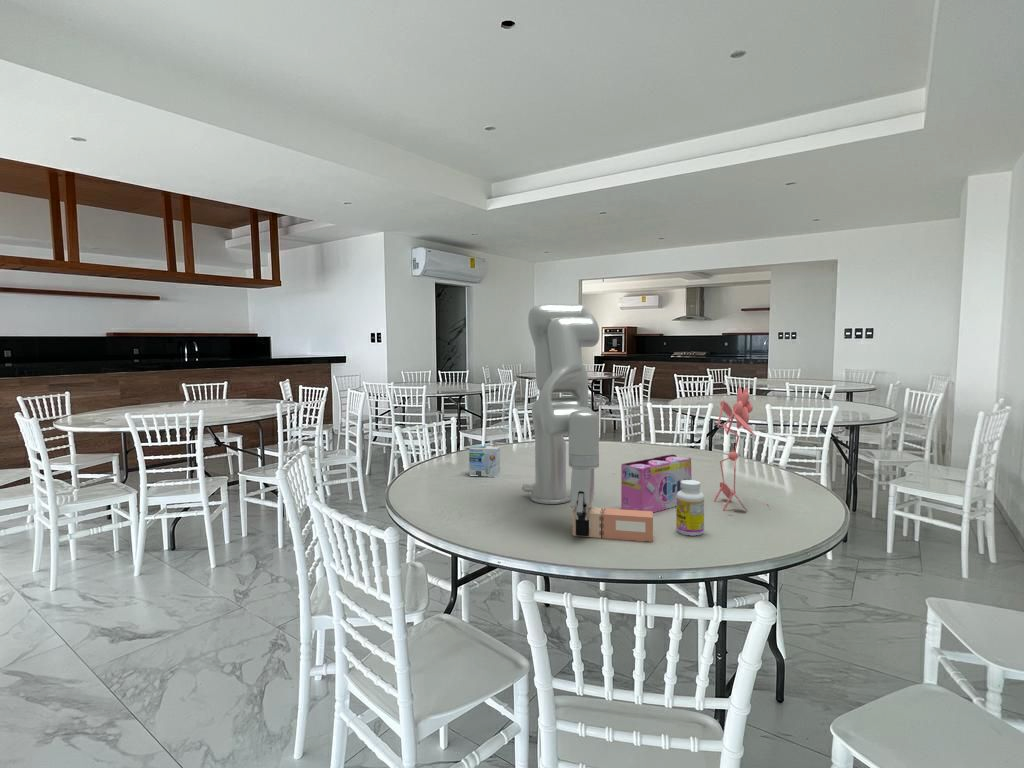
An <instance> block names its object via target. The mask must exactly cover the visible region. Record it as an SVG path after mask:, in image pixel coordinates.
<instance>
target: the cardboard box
mask: <svg viewBox="0 0 1024 768" xmlns="http://www.w3.org/2000/svg"><path fill="white" fill-rule="evenodd" d="M601 539H608V540H619V539H620V540H619V541H631V540H635V541H634V542H644V541H649V542H648V543H653V542H654V541H653V539H654V513H653V511H638V510H622V509H621V508H620V509H618V508H605V507H604V508H603V513H602V536H601ZM650 541H651V542H650Z"/></svg>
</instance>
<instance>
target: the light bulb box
mask: <svg viewBox="0 0 1024 768" xmlns="http://www.w3.org/2000/svg"><path fill="white" fill-rule="evenodd" d="M468 455H469V456H468V458H469V459H468V466H469V467H468V472H469V475H478V476H497V475H498V474H499V473H500V474H501V446H500V445H476V444H475V445H474V444H473V445H472V446H471V447H469V448H468ZM469 475H468V476H469Z"/></svg>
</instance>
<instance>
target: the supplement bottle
mask: <svg viewBox="0 0 1024 768" xmlns="http://www.w3.org/2000/svg"><path fill="white" fill-rule="evenodd" d="M681 488H682V490H680V491H679V492H678V493H677V506H676V510H675V511H676V520H675V521H676V524H675V525H676V528H675V529H676V531H677V532H678V533H679V534H681V535H684V536H688V535H690V537H694V536H696V535H697V536H701V535H703V534H704V533H705V494H704V493H703V492H702V491H700V489H701V482H700V481H698V480H695V479H692V480H683V481H681ZM697 536H696V537H697Z"/></svg>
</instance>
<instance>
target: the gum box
mask: <svg viewBox="0 0 1024 768" xmlns="http://www.w3.org/2000/svg"><path fill="white" fill-rule="evenodd" d="M620 468H621V469H620V470H621V471H620V472H621V475H620V476H621V479H620V480H621V482H620V484H621V485H620V486H621V492H620V493H621V495H620V496H621V497H620V498H621V501H620V502H621V506H620V509H622V510H638V511H653V512H654V513H657V511H658V512H661V510H662V511H665V510H668V508H669V509H672V508H671V507H673V508H675V506H676V507H677V493H678V492H679V491H680V490H682V488H681V481H683V480H693V478H692V458H691V457H688V458H684V457H679V456H677V455H676V454H666V455H660V456H656V457H651V458H647V459H642V460H637V461H636V460H635V461H630V462H626V463H621V467H620ZM664 509H665V510H664Z"/></svg>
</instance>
